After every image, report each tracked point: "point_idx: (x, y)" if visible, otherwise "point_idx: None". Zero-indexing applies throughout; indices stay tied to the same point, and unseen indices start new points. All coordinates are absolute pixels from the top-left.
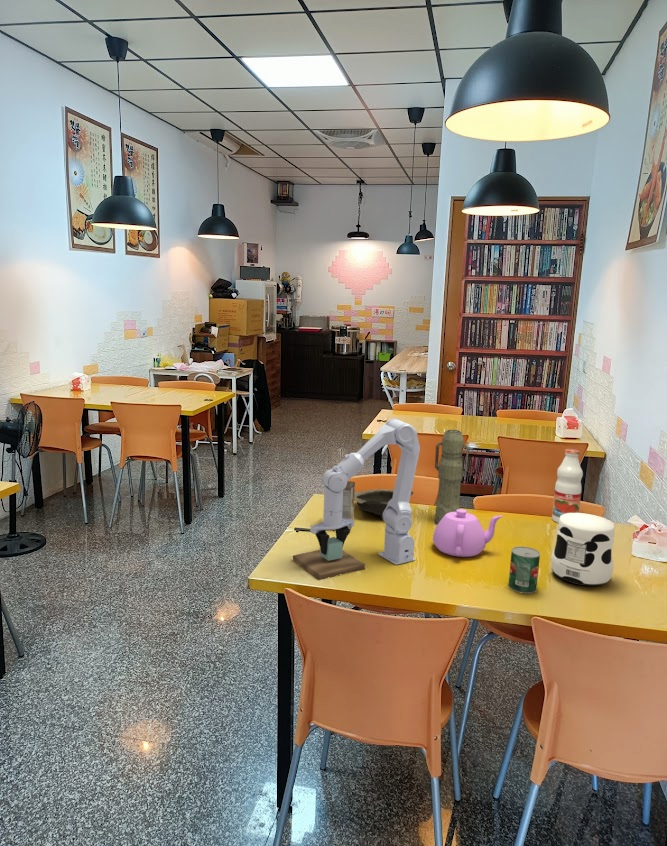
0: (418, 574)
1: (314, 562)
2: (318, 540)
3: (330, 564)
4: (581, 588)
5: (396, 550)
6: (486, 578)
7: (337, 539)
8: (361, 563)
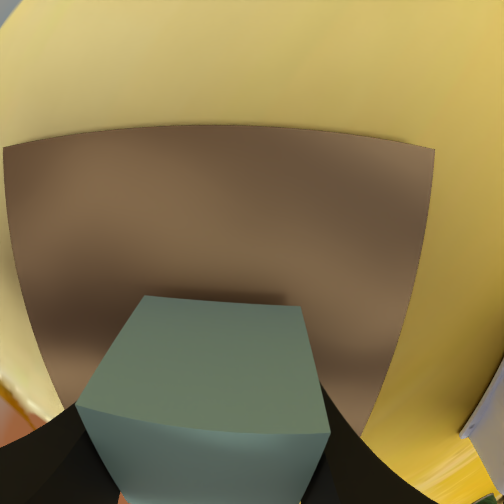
0: (432, 481)
1: (84, 331)
2: (36, 439)
3: None
4: (501, 499)
5: (495, 458)
6: (483, 488)
7: (296, 487)
8: None
